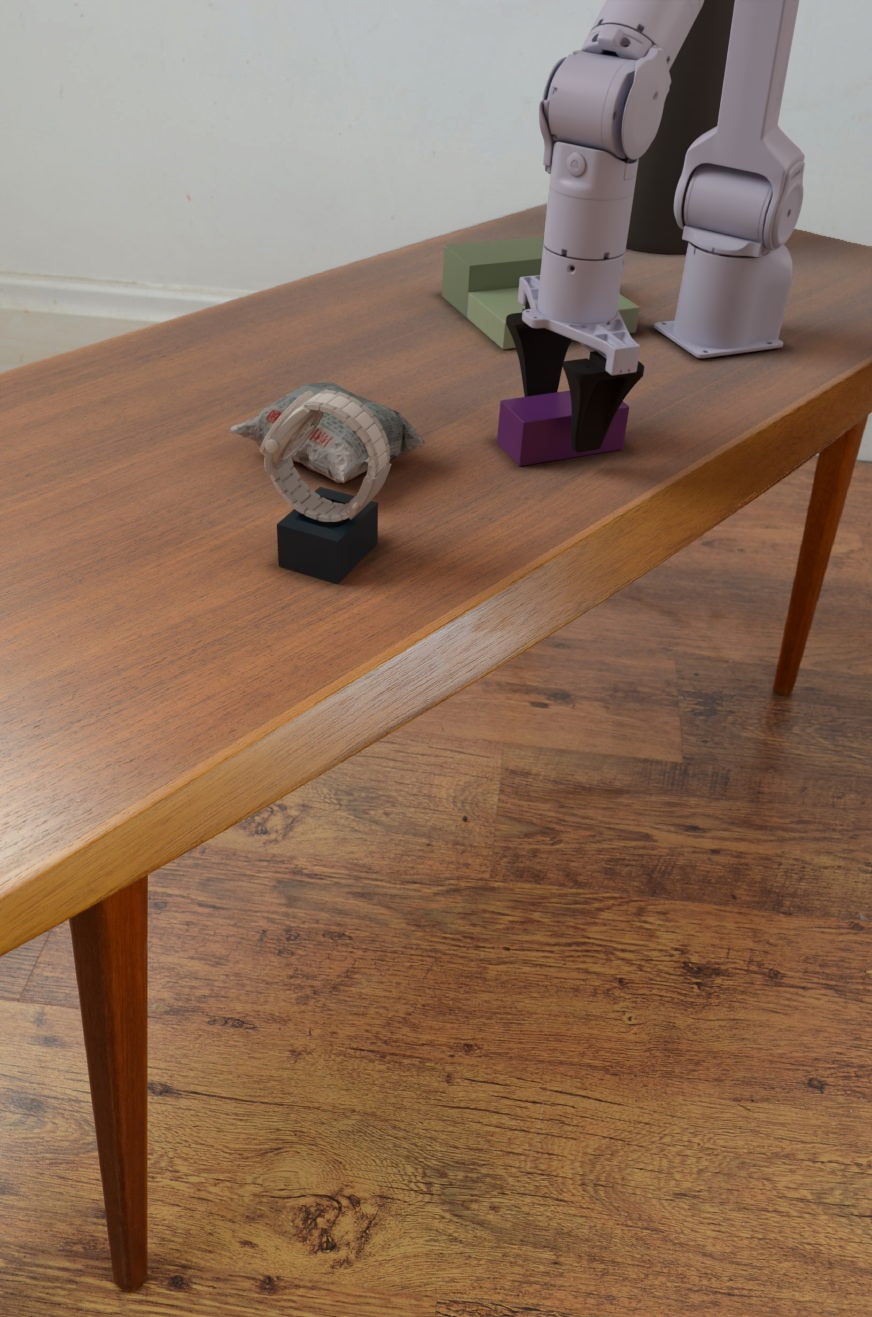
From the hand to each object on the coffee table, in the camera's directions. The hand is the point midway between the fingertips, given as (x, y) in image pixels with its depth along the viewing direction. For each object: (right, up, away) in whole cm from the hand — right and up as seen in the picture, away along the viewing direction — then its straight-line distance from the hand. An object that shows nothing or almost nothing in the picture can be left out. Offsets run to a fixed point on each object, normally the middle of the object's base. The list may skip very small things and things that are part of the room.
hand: (562, 426), depth 88 cm
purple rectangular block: (0, -1, +1) cm, 2 cm away
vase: (+16, +31, +45) cm, 57 cm away
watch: (-17, -11, -13) cm, 24 cm away
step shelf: (0, +16, +24) cm, 29 cm away
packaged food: (-18, -3, -3) cm, 18 cm away
